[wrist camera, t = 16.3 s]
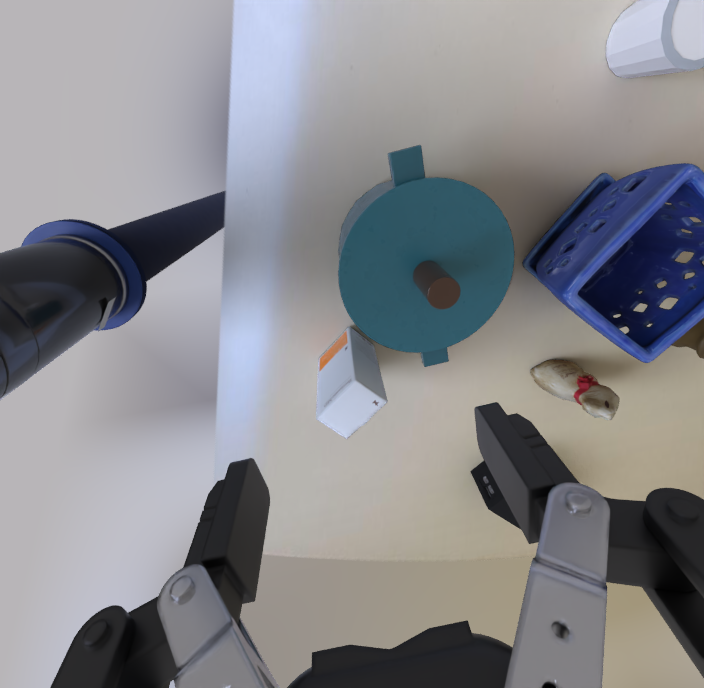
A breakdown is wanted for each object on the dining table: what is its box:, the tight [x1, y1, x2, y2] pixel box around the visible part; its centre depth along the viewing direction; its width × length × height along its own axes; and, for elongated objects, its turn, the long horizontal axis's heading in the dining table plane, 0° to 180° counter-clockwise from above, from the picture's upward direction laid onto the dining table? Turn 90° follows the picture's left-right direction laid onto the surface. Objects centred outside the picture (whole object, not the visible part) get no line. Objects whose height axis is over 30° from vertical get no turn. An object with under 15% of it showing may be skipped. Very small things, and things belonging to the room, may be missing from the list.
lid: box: [338, 177, 514, 353], centre depth 28 cm, size 15×15×6 cm
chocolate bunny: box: [530, 359, 619, 420], centre depth 45 cm, size 6×8×10 cm
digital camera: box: [471, 460, 521, 529], centre depth 54 cm, size 10×5×7 cm, turn 50°
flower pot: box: [523, 163, 704, 363], centre depth 36 cm, size 13×13×12 cm
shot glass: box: [606, 0, 704, 78], centre depth 30 cm, size 7×7×7 cm
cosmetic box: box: [316, 327, 387, 439], centre depth 40 cm, size 6×4×12 cm
